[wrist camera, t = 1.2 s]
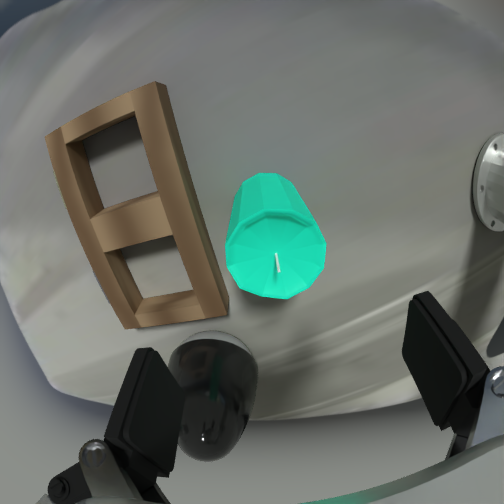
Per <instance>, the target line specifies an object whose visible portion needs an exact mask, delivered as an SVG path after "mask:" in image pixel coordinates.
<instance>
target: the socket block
mask: <svg viewBox="0 0 504 504" xmlns="http://www.w3.org/2000/svg"><path fill="white" fill-rule="evenodd" d="M134 116H136V118H137V122H138V126H139V129H140V133H141V136H142V140H143V143H144V147H145V150H146V154H147V157H148V160H149V164H150V167H151V170H152V174H153V177H154V180H155V183H156V186H157V189H158V191H157V192H153V193H150V194H147V195H144V196H141V197H138V198H134V199H131V200H128V201H125V202H122V203H120V204H117V205H114V206H111V207H108V208H105V209H104V207H103V204H102V202H101V199H100V196H99V193H98V190H97V187H96V184H95V181H94V178H93V175H92V172H91V169H90V166H89V163H88V159H87V156H86V153H85V149H84V146H83V142H82V140H83V139H85V138H87V137H89V136H91V135H93V134H95V133H98V132H100V131H102V130H104V129H106V128H108V127H110V126H113V125H115V124H117V123H119V122H122V121H124V120H126V119H129V118H131V117H134ZM45 140H46V144H47V148H48V152H49V155H50V159H51V162H52V166H53V169H54V171H53V173H54V176H55V179H56V182H57V185H58V188H59V191H60V194H61V197H62V200H63V202H64V205H65V208H66V209H67V210H68V213H69V215H70V218H71V221H72V223H73V226H74V228H75V230H76V233H77V235H78V238H79V240H80V242H81V245H82V247H83V249H84V251H85V254H86V256H87V258H88V260H89V262H90V264H91V267H92V269H93V273H94V275H95V277H96V279H97V281H98V283H99V285H100V287H101V289H102V291H103V293H104V295H105V297H106V299H107V300H108V302H109V303H110V304H111V306H112V307H113V309H114V311H115V313H116V315H117V316H118V318H119V320H120V322H121V323H122V325H123V327H124V328H125V329H133V328H141V327H149V326H157V325H164V324H172V323H179V322H186V321H192V320H199V319H205V318H211V317H218V316H224V315H227V312H228V303H229V296H228V293H227V290H226V287H225V284H224V281H223V278H222V275H221V272H220V269H219V266H218V262H217V259H216V256H215V253H214V250H213V247H212V244H211V241H210V238H209V234H208V231H207V228H206V225H205V222H204V218H203V215H202V212H201V209H200V205H199V202H198V199H197V195H196V192H195V189H194V185H193V182H192V179H191V175H190V172H189V168H188V165H187V161H186V158H185V154H184V151H183V147H182V144H181V140H180V136H179V133H178V129H177V125H176V122H175V118H174V114H173V111H172V107H171V103H170V99H169V95H168V91H167V88H166V85H164V84H161V83H158V82H156V81H154V82H152V83H149V84H147V85H144V86H142V87H139V88H137V89H134V90H132V91H130V92H127V93H125V94H123V95H121V96H118V97H116V98H114V99H112V100H110V101H108V102H106V103H104V104H102V105H100V106H98V107H96V108H94V109H92V110H90V111H88V112H86V113H84V114H82V115H80V116H79V117H77V118H75V119H73V120H71V121H70V122H68V123H66V124H65V125H63V126H61V127H60V128H58V129H56V130H55V131H53V132H51V133H50V134H48V135H47V136H45ZM169 235H173V236H174V239H175V242H176V245H177V247H178V250H179V253H180V255H181V258H182V261H183V263H184V266H185V269H186V271H187V274H188V276H189V279H190V282H191V284H192V287H193V289H194V290H189V291H184V292H178V293H173V294H167V295H162V296H156V297H150V298H145V299H143V298H142V296H141V294H140V292H139V290H138V288H137V286H136V283H135V281H134V279H133V277H132V275H131V273H130V270H129V268H128V266H127V264H126V262H125V259H124V257H123V255H122V252H121V250H120V248H123V247H126V246H130V245H134V244H138V243H142V242H145V241H149V240H153V239H157V238H161V237H165V236H169Z"/></svg>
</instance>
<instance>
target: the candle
mask: <svg viewBox="0 0 504 504" xmlns="http://www.w3.org/2000/svg"><path fill="white" fill-rule="evenodd" d="M225 251H226V265H227V268H228V270H229V271H230V273H231V275H232V276H233V278H234V280H235V281H236V283H237V285H238V286H239V288H240V289H242V290H245V291H248V292H251V293H253V294H256V295H259V296H262V297H270V298H279V299H289V298H290V297H292V296H294V295H296V294H298V293H300V292H302V291H304V290H306V289H308V288H309V287H310V286H311V285H312V283H313V282H314V281H315V279H316V278H317V277H318V275H319V274H320V273H321V271H322V270H323V269H324V263H325V253H326V242H325V239H324V237H323V235H322V233H321V231H320V229H319V227H318V225H317V223H316V221H315V220H314V218H313V216H312V215H311V213H310V211H309V210H308V208H307V206H306V205H305V203H304V202H303V200H302V198H301V197H300V195H299V194H298V192H297V190H296V189H295V187H294V186H293V184H292V182H290V181H289V180H287V179H285V178H284V177H282V176H280V175H278V174H277V173H258V174H256V175H254V176H253V177H251V178H249V179H247V180H245V181H244V182H243V183H242V185H241V187H240V188H239V190H238V192H237V193H236V195H235V198H234V203H233V208H232V213H231V218H230V223H229V228H228V233H227V238H226V243H225Z"/></svg>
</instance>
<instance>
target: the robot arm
mask: <svg viewBox="0 0 504 504" xmlns="http://www.w3.org/2000/svg"><path fill="white" fill-rule="evenodd" d="M473 200H474V205H475V209H476V212H477V215H478V217H479V219H480V221H481V222H482V223H483V224H484V225H485V226H486V227H488V228H489V229H491V230H493V231H496V232H501V231H504V133H498V134H495V135H494V136H492V137H491V138H490V139H489V140H488V141H487V142H486V143H485V145H484V146H483V148H482V150H481V152H480V154H479V157H478V159H477V163H476V167H475V172H474V178H473ZM402 356H403V359H404V361H405V363H406V365H407V367H408V369H409V371H410V373H411V375H412V377H413V379H414V381H415V383H416V385H417V387H418V389H419V391H420V394H421V396H422V398H423V400H424V402H425V404H426V407H427V409H428V411H429V413H430V415H431V418H432V420H433V422H434V424H435V425H436V426H438V425H439V427H440V429H441V431H442V430H444V429H446V428H448V427H450V426H451V427H452V430H453V432H454V436H453V439H452V442H451V444H450V448H449V450H448V453H447V455H446V458H445V460H444V461H442V462H440V463H438V464H435V465H433V466H431V467H428V468H426V469H424V470H421V471H419V472H416V473H414V474H411V475H409V476H406V477H403V478H401V479H398V480H395V481H392V482H389V483H386V484H383V485H380V486H377V487H373V488H370V489H367V490H363V491H359V492H356V493H352V494H347V495H343V496H339V497H335V498H329V499H324V500H319V501H313V502H306V503H300V504H504V366H500V367H496V368H494V369H493V370H491V371H490V369H489V368H488V366H487V365H486V363H485V362H484V360H483V359H482V357H481V356H480V355H479V353H478V352H477V350H476V349H475V347H474V346H473V345H472V343H471V342H470V341H469V339H468V338H467V336H466V335H465V334H464V332H463V331H462V330H461V328H460V327H459V326H458V324H457V323H456V322H455V321H454V320H452V319H451V318H450V317H449V315H448V314H447V313H446V311H445V310H444V309H443V308H442V306H441V305H440V304H439V303H438V301H437V300H436V299H435V298H434V297H433V295H432V294H431V293H430V292H429V291H426V292H422V293H419V294H416V295H414V296H413V299H412V300H410V302H409V308H408V316H407V323H406V330H405V336H404V342H403V347H402ZM184 404H185V394H184V391H183V390H182V388H181V387H180V386H179V384H178V383H177V381H176V380H175V378H174V376H173V375H172V373H171V372H170V370H169V369H168V367H167V366H166V364H165V362H164V361H163V359H162V358H161V356H160V354H159V353H158V352H157V351H154V349H153V348H151V347H149V348H138V349H136V351H135V353H134V356H133V358H132V361H131V363H130V366H129V368H128V371H127V373H126V376H125V378H124V381H123V384H122V386H121V389H120V392H119V394H118V397H117V400H116V403H115V405H114V408H113V411H112V414H111V417H110V420H109V423H108V426H107V429H106V432H105V435H104V437H105V438H104V441H103V440H100V439H92V440H89V441H88V442H86V443H85V444H84V445H83V446H82V447H81V449H80V452H79V462H78V463H76V464H75V465H73V466H72V467H70V468H68V469H67V470H65V471H63V472H62V473H60V474H58V475H56V476H55V477H54V478H53V479H51V481H50V483H49V486H48V494H49V495H47V494H45V495H43V497H42V498H41V499H40V500H39V501H38V502H37V503H36V504H171V503H170V502H169V501H168V499H167V498H166V497H165V495H164V494H163V492H162V491H161V489H160V488H159V486H158V485H157V483H156V478H157V476H158V477H168V478H169V474H170V472H171V471H172V470H173V468H174V463H175V457H176V450H177V444H178V438H179V432H180V426H181V421H182V415H183V409H184Z"/></svg>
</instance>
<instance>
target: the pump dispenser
mask: <svg viewBox="0 0 504 504" xmlns="http://www.w3.org/2000/svg"><path fill="white" fill-rule="evenodd" d="M168 369H169V370H170V372H171V373H172V375H173V376H174V378H175V380H176V381H177V383H178V384H179V386H180V387H181V388H182V390H183V391H184V394H185V404H184V409H183V415H182V421H181V426H180V432H179V438H178V445H179V446H180V448H181V450H182V451H183V452H184V453H185V454H186V455H188V456H189V457H191V458H193V459H195V460H199V461H204V462H210V461H215V460H219V459H221V458H223V457H225V456H226V455H227V454H228V453H229V452H230V451H231V450H232V449H233V448H234V446H235V445H236V444H237V442H238V441H239V439H240V437H241V435H242V433H243V431H244V429H245V427H246V425H247V422H248V420H249V418H250V415H251V412H252V409H253V405H254V401H255V396H256V390H257V383H258V367H257V364H256V362H255V360H254V358H253V357H252V355H251V353H250V351H249V350H248V348H247V347H246V346H245V345H244V344H243V343H242V342H241V341H240V340H239V339H237V338H236V337H234V336H232V335H230V334H227V333H224V332H220V331H204V332H199V333H196V334H194V335H192V336H190V337H189V338H187V339H186V340H185V341H183V342H182V343H181V345H180V346H179V347H177V348H176V349H175V350H174V351H173V353H172V355H171V357H170V360H169V364H168Z"/></svg>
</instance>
